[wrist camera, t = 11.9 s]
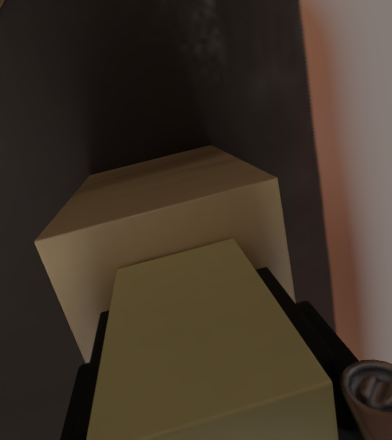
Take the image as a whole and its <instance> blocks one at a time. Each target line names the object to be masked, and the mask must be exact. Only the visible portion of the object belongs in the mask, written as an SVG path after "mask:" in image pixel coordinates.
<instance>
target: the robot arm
mask: <svg viewBox="0 0 392 440" xmlns="http://www.w3.org/2000/svg"><path fill="white" fill-rule="evenodd" d="M256 272H257V273H258V275H259V276H260V277H261V279H262V280H263V282H264V283H265V285H266V286H267V288H268V289H269V291H270V292H271V293H272V295H273V296H274V298H275V299H276V301H277V302H278V304H279V305H280V307H281V308H282V310H283V311H284V312H285V314H286V315H287V317H288V318H289V320H290V321H291V323H292V324H293V326H294V327H295V329H296V330H297V331H298V333H299V334H300V336H301V337H302V339H303V340H304V342H305V343H306V345H307V346H308V348H309V349H310V350H311V352H312V353H313V355H314V356H315V358H316V359H317V361H318V362H319V364H320V365H321V367H322V368H323V369H324V371H325V372H326V374H327V375H328V377H329V378H330V380H331V381H332V385H333V394H334V403H335V412H336V421H337V430H338V439H339V440H392V364H391V363H388V362H384V361H379V360H361V361H359V360H358V359H357V358H356V357H355V356H354V355H353V353H352V352H351V351H350V350H349V349H348V348H347V347H346V345H345V344H344V343H343V342H342V340H341V339H340V338H339V337H338V336H337V335H336V333H335V332H334V331H333V330H332V329H331V327H330V326H329V325H328V324H327V323H326V322H325V320H324V319H323V318H322V317H321V316H320V315H319V313H318V312H317V311H316V310H315V309H314V307H313V306H312V305H311V304H310V303H309V302H308V301H303V302H299V303H296V304H295V302H294V301H293V300H292V298H291V297H290V296H289V295H288V293H287V292H286V291H285V289H284V288H283V287H282V285H281V284H280V283H279V282H278V280H277V279H276V278H275V276H274V275H273V274H272V273H271V271H270V270H269V269H268V268H267V267H263V268H259V269H256ZM108 316H109V310H108V311H104V312H101V314H100V317H99V322H98V326H97V331H96V336H95V340H94V345H93V349H92V354H91V358H90V362H89V363H86V364H82V365H81V366H80V367H79V369H78V372H77V376H76V380H75V384H74V388H73V392H72V396H71V400H70V403H69V407H68V411H67V415H66V419H65V423H64V427H63V431H62V435H61V438H60V440H86V438H87V433H88V427H89V422H90V416H91V411H92V405H93V399H94V394H95V388H96V383H97V377H98V372H99V366H100V360H101V355H102V349H103V344H104V338H105V333H106V327H107V321H108Z"/></svg>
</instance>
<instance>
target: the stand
mask: <svg viewBox="0 0 392 440" xmlns="http://www.w3.org/2000/svg"><path fill="white" fill-rule="evenodd" d="M232 238H233V239H235V241H236V242H237V244H238V245H239V247H240V248H241V250H242V251H243V253H244V254H245V256H246V257H247V258H248V260H249V261H250V263H251V264H252V266H253V267H254V269H255V270H256V269H259V268H263V267H267V268H268V269H269V270H270V271H271V273H272V274H273V275H274V276H275V278H276V279H277V280H278V282H279V283H280V284H281V285H282V287H283V288H284V289H285V291H286V292H287V293H288V295H289V296H290V297H291V298H292V300H293V301H294V302H295V295H294V288H293V281H292V274H291V267H290V260H289V254H288V247H287V240H286V233H285V226H284V219H283V212H282V205H281V199H280V192H279V185H278V179H277V177H275V176H273V175H271V174H268V173H266V172H264V171H262V170H260V169H258V168H256V167H254V166H252V165H250V164H248V163H246V162H244V161H242V160H240V159H238V158H236V157H234V156H232V155H230V154H228V153H226V152H224V151H222V150H220V149H218V148H216V147H214V146H212V145H209V146H205V147H201V148H197V149H193V150H189V151H185V152H181V153H177V154H173V155H169V156H165V157H161V158H157V159H153V160H149V161H145V162H141V163H137V164H133V165H129V166H125V167H121V168H117V169H113V170H109V171H105V172H101V173H97V174H93V175H90V176H89V177H88V178H87V180H86V181H85V182H84V183H83V184H82V185H81V187H80V188H79V189H78V190H77V191H76V193H75V194H74V195H73V196H72V197H71V198H70V200H69V201H68V202H67V203H66V204H65V206H64V207H63V208H62V209H61V210H60V211H59V213H58V214H57V215H56V216H55V217H54V219H53V220H52V221H51V222H50V223H49V224H48V226H47V227H46V228H45V229H44V230H43V231H42V233H41V234H40V235H39V236H38V237H37V239H36V240H35V241H34V243H35V245H36V248H37V250H38V252H39V255H40V257H41V259H42V262H43V264H44V266H45V269H46V271H47V273H48V276H49V278H50V280H51V283H52V285H53V287H54V290H55V292H56V295H57V297H58V299H59V302H60V304H61V306H62V309H63V311H64V313H65V316H66V318H67V320H68V323H69V325H70V327H71V330H72V332H73V334H74V337H75V339H76V341H77V344H78V346H79V348H80V351H81V353H82V356H83V358H84V360H85V363H89V362H90V358H91V354H92V349H93V345H94V340H95V336H96V331H97V326H98V322H99V317H100V314H101V312H104V311H108V310H110V305H111V299H112V294H113V288H114V282H115V277H116V271H117V270H118V269H121V268H124V267H128V266H132V265H136V264H139V263H143V262H147V261H150V260H154V259H158V258H162V257H165V256H169V255H173V254H176V253H180V252H184V251H188V250H191V249H195V248H199V247H202V246H206V245H210V244H214V243H217V242H221V241H225V240H228V239H232ZM295 304H296V302H295Z"/></svg>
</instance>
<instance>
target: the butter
mask: <svg viewBox="0 0 392 440" xmlns="http://www.w3.org/2000/svg"><path fill="white" fill-rule="evenodd" d="M86 440H339V439H338V430H337V421H336V412H335V403H334V394H333V385H332V381H331V380H330V378H329V377H328V375H327V374H326V372H325V371H324V369H323V368H322V367H321V365H320V364H319V362H318V361H317V359H316V358H315V356H314V355H313V353H312V352H311V350H310V349H309V348H308V346H307V345H306V343H305V342H304V340H303V339H302V337H301V336H300V334H299V333H298V331H297V330H296V329H295V327H294V326H293V324H292V323H291V321H290V320H289V318H288V317H287V315H286V314H285V312H284V311H283V310H282V308H281V307H280V305H279V304H278V302H277V301H276V299H275V298H274V296H273V295H272V293H271V292H270V291H269V289H268V288H267V286H266V285H265V283H264V282H263V280H262V279H261V277H260V276H259V275H258V273H257V272H256V270H255V269H254V267H253V266H252V264H251V263H250V261H249V260H248V258H247V257H246V256H245V254H244V253H243V251H242V250H241V248H240V247H239V245H238V244H237V242H236V241H235V239H233V238H232V239H228V240H225V241H221V242H217V243H214V244H210V245H206V246H202V247H199V248H195V249H191V250H188V251H184V252H180V253H176V254H173V255H169V256H165V257H162V258H158V259H154V260H150V261H147V262H143V263H139V264H136V265H132V266H128V267H124V268H121V269H118V270H117V271H116V277H115V282H114V288H113V294H112V299H111V305H110V310H109V316H108V321H107V327H106V333H105V338H104V344H103V349H102V355H101V360H100V366H99V372H98V377H97V383H96V388H95V394H94V399H93V405H92V411H91V416H90V422H89V427H88V433H87V438H86Z"/></svg>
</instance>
